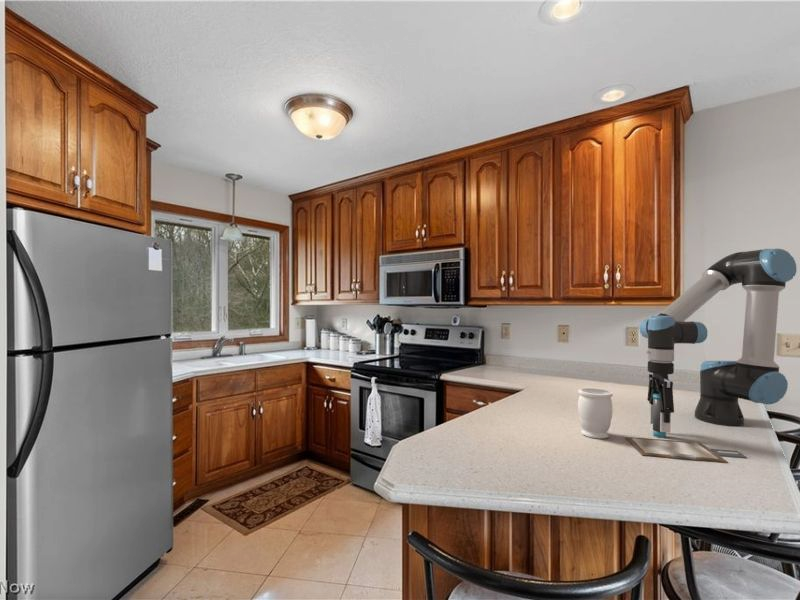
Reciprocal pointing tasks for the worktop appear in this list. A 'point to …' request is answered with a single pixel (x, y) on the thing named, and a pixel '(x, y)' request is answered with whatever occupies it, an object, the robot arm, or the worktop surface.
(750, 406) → the worktop surface
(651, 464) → the worktop surface
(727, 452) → the grey slotted plate
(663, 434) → the grey and teal cylinder
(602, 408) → the jar
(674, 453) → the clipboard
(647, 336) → the robot arm
